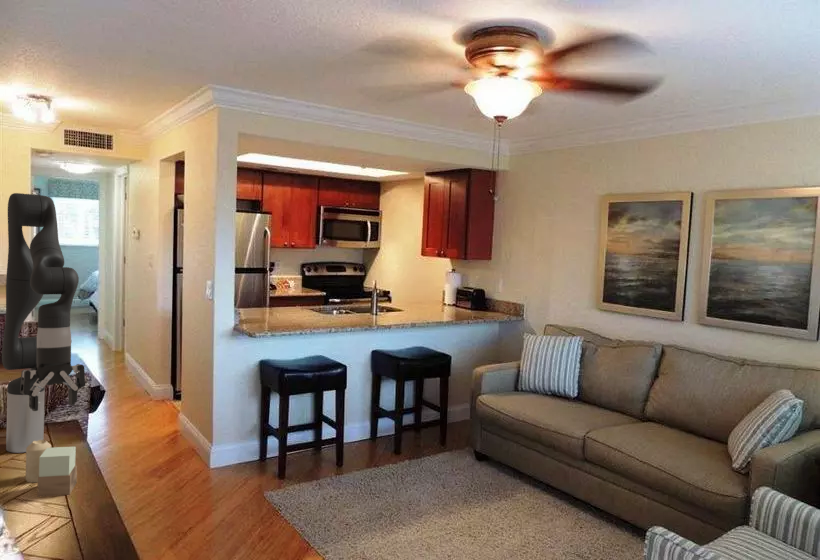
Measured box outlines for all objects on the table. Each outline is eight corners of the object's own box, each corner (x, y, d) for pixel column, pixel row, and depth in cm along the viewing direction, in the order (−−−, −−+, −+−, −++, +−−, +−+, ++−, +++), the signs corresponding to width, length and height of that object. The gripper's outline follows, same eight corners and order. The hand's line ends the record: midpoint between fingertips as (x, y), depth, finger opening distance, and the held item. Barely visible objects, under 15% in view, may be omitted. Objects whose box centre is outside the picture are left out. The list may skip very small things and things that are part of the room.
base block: (45, 485, 147) (46, 466, 147) (76, 483, 150) (77, 464, 149) (37, 497, 141) (37, 477, 140) (69, 495, 143) (70, 475, 143)
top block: (46, 466, 147) (47, 447, 147) (75, 465, 149) (75, 446, 149) (39, 477, 141) (39, 457, 140) (69, 475, 143) (69, 455, 143)
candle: (38, 484, 148) (39, 446, 147) (20, 480, 149) (21, 443, 148) (55, 475, 153) (56, 439, 152) (37, 472, 154) (38, 436, 153)
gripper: (77, 341, 155) (77, 401, 155) (16, 345, 143) (16, 410, 143) (89, 343, 150) (89, 405, 150) (27, 348, 139) (27, 415, 139)
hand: (53, 407), depth 147 cm, fingers open, 8 cm apart
